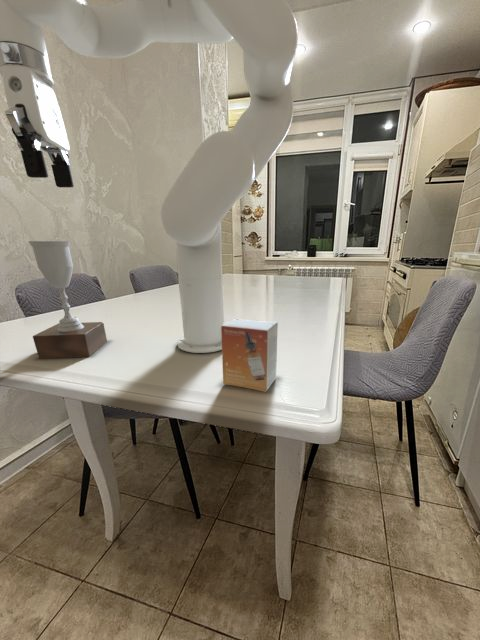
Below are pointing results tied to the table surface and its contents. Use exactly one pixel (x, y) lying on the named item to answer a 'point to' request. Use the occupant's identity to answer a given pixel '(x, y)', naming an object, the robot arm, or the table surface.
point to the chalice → (57, 275)
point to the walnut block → (70, 341)
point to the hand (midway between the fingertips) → (52, 182)
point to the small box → (249, 353)
